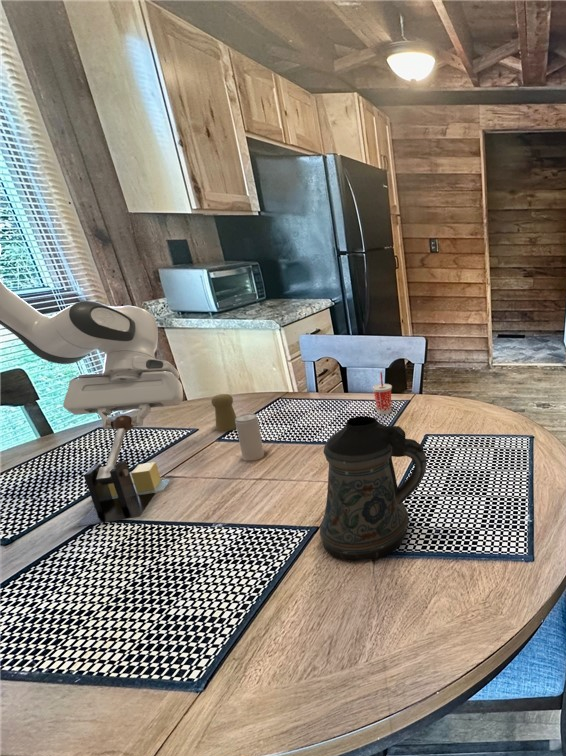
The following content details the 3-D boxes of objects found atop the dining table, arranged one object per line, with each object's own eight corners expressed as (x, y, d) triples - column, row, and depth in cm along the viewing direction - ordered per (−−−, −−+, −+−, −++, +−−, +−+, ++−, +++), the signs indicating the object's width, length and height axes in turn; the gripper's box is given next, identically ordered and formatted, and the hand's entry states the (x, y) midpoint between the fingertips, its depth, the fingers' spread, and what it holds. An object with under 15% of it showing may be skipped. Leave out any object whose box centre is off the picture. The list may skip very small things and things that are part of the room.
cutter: (100, 504, 89) (84, 460, 85) (157, 495, 93) (145, 453, 89) (77, 531, 81) (59, 483, 78) (141, 520, 85) (126, 474, 81)
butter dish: (95, 504, 89) (93, 500, 89) (106, 491, 93) (105, 487, 93) (164, 493, 93) (162, 490, 93) (171, 482, 98) (170, 478, 97)
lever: (119, 422, 93) (111, 413, 91) (139, 420, 95) (132, 411, 92) (98, 487, 84) (89, 478, 81) (121, 483, 85) (112, 475, 82)
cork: (244, 428, 125) (237, 394, 122) (222, 435, 120) (214, 400, 117) (234, 423, 128) (227, 390, 125) (212, 430, 123) (204, 395, 120)
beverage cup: (396, 408, 143) (393, 370, 139) (389, 415, 137) (386, 375, 133) (379, 407, 144) (375, 369, 139) (371, 414, 138) (368, 374, 133)
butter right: (137, 492, 92) (130, 473, 90) (144, 483, 95) (138, 464, 94) (155, 490, 93) (149, 470, 91) (161, 480, 96) (156, 461, 95)
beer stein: (313, 527, 84) (295, 414, 76) (403, 496, 95) (397, 395, 87) (334, 579, 72) (317, 451, 64) (436, 537, 83) (432, 423, 75)
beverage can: (261, 452, 112) (254, 412, 108) (267, 459, 109) (259, 417, 105) (241, 458, 109) (232, 416, 105) (246, 465, 106) (237, 422, 102)
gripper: (62, 368, 90) (50, 428, 85) (177, 361, 97) (173, 415, 92) (79, 381, 95) (69, 438, 90) (187, 373, 103) (184, 425, 97)
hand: (123, 426), depth 91 cm, fingers closed on lever, 3 cm apart
